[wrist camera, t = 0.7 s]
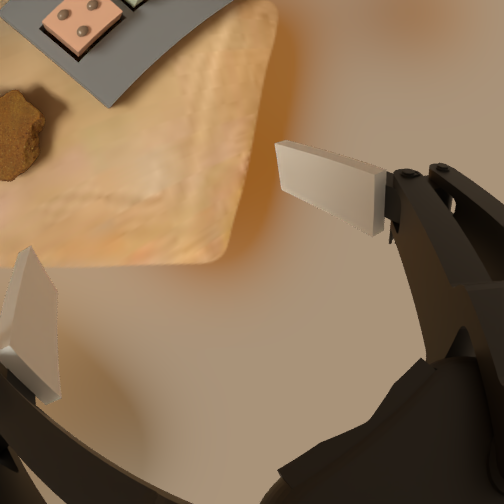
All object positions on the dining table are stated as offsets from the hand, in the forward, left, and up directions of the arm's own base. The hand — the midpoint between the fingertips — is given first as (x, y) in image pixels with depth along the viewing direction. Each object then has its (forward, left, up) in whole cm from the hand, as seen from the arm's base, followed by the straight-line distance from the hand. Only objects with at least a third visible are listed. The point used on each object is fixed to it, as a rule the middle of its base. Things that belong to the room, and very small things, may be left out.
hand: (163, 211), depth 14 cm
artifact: (-13, -7, -24) cm, 28 cm away
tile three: (-14, +8, -21) cm, 27 cm away
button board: (-14, +16, -23) cm, 32 cm away
